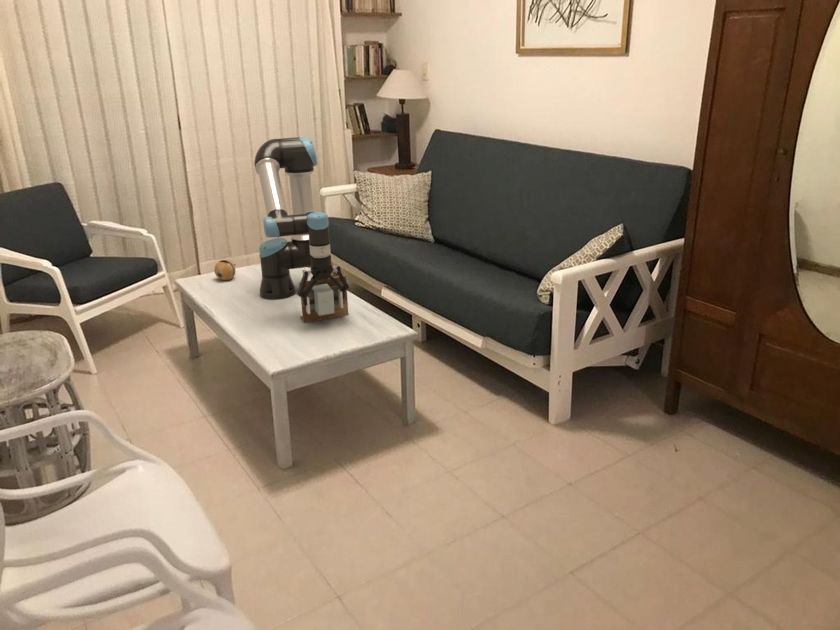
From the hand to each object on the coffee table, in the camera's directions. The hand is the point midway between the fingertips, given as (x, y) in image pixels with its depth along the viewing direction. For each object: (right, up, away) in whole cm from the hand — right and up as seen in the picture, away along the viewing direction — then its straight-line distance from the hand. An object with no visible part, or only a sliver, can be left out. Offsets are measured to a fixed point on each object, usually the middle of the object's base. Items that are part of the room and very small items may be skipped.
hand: (324, 310), depth 259 cm
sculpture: (-53, +15, +57) cm, 79 cm away
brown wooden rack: (-1, -3, +9) cm, 9 cm away
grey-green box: (0, -1, +1) cm, 1 cm away
